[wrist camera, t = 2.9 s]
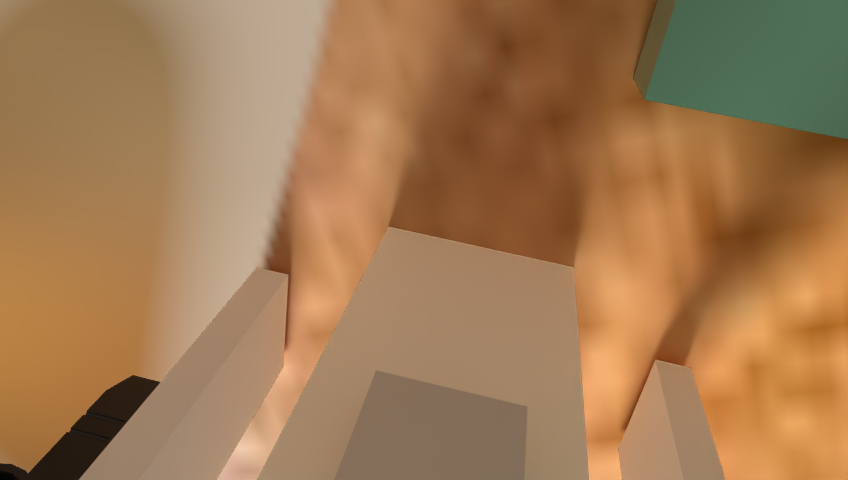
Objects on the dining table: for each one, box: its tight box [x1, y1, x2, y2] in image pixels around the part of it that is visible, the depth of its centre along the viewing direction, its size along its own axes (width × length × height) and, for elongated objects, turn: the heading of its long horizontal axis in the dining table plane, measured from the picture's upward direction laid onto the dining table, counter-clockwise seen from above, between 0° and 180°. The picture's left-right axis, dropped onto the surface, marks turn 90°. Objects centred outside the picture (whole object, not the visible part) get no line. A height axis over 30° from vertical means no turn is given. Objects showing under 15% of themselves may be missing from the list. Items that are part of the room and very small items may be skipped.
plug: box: [257, 226, 589, 480], centre depth 11 cm, size 4×7×8 cm, turn 172°
